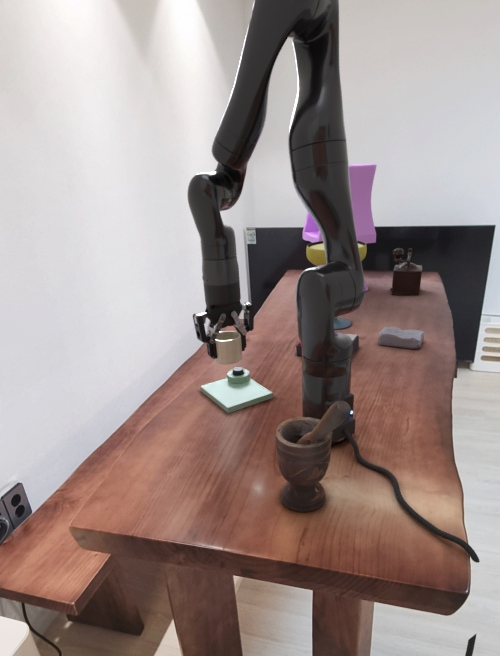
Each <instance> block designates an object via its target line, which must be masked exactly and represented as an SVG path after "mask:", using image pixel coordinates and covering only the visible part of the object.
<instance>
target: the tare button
mask: <svg viewBox="0 0 500 656" xmlns="http://www.w3.org/2000/svg"><path fill="white" fill-rule="evenodd" d="M243 369H244V367H242V366H235V367H233V368H232V370H233V375H234V376H241V375H243V374H244V373H243Z"/></svg>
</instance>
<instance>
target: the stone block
mask: <svg viewBox="0 0 500 656" xmlns="http://www.w3.org/2000/svg"><path fill="white" fill-rule="evenodd" d="M424 339H425V332H424V331H423V330H421V329H413V328H412V329H411V328H410V329H409V328H408V329H402V328H398V327H394V326H389V325H388V326H387V325H386V326H385V327H383V328H382V329H381V330H380V331H379V334H378V344H379V345H380V346H385V347H393V348H394V347H395V348H403V349H409V350H419V349H420V348H421V347H422V344H423V342H424Z"/></svg>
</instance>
